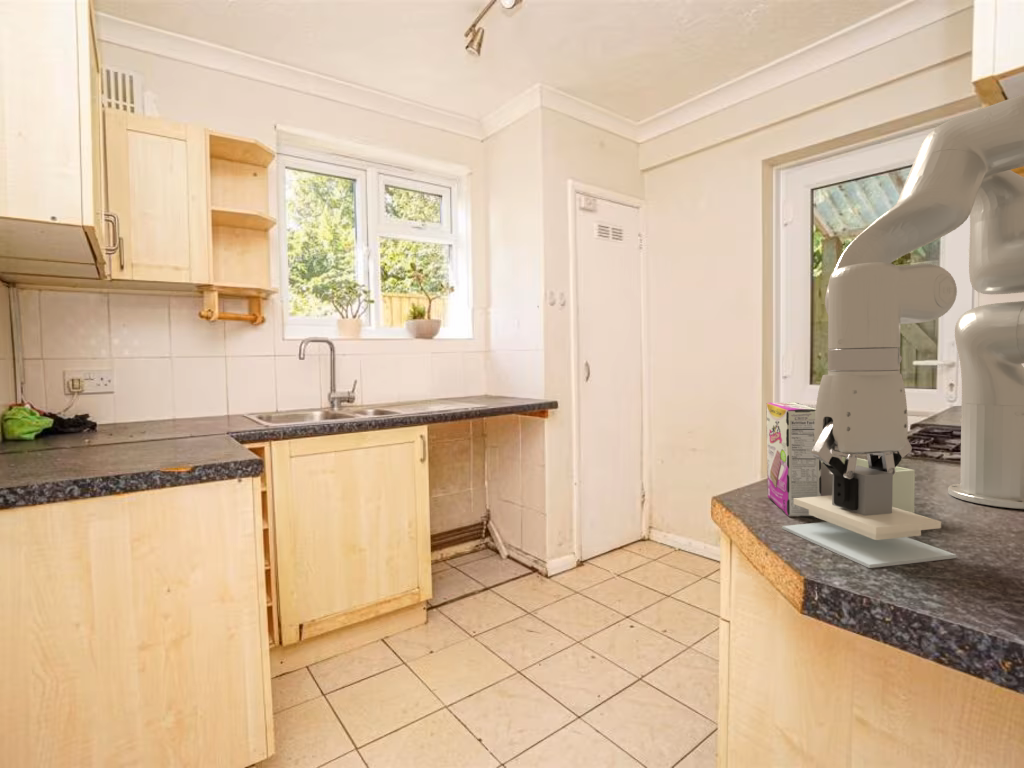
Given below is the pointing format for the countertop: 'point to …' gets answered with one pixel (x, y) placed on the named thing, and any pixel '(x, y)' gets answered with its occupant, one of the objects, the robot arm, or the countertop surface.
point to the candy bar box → (791, 456)
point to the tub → (900, 490)
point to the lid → (870, 509)
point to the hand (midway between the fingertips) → (861, 504)
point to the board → (868, 546)
